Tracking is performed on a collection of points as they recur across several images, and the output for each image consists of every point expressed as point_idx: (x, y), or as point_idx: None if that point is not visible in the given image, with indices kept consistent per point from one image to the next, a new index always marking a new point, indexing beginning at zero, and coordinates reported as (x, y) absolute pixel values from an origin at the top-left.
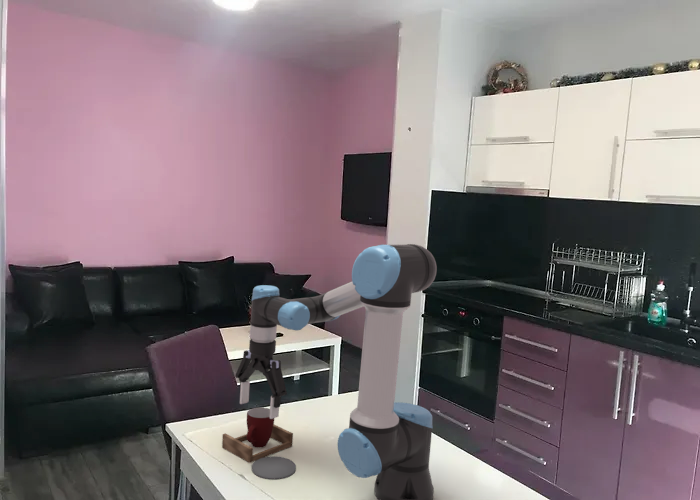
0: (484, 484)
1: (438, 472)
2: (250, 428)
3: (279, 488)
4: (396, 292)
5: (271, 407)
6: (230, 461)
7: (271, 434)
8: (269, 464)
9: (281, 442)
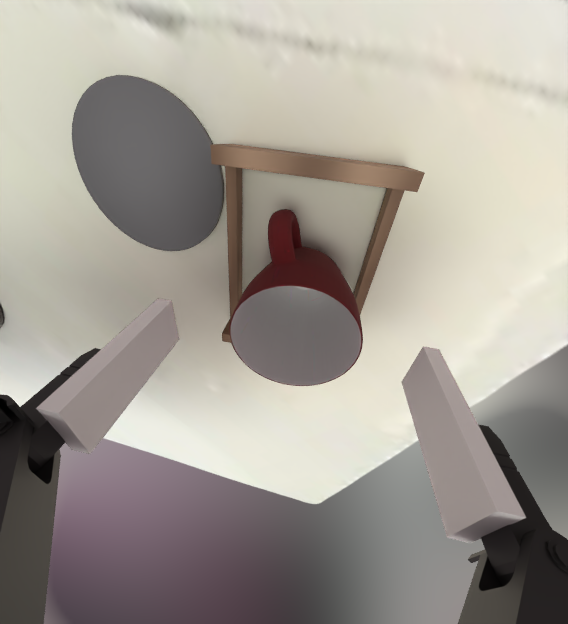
0: None
1: (15, 372)
2: (277, 238)
3: (16, 68)
4: None
5: (117, 341)
6: (294, 90)
7: None
8: (166, 178)
9: None
